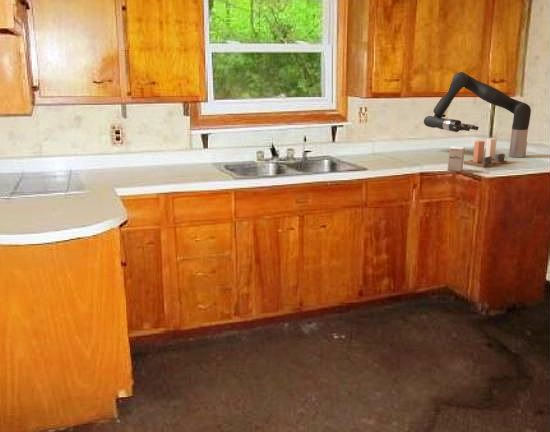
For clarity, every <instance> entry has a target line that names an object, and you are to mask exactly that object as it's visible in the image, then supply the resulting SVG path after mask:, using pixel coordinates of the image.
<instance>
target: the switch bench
mask: <svg viewBox="0 0 550 432" xmlns="http://www.w3.org/2000/svg"><path fill="white" fill-rule="evenodd" d="M505 157H506V155H505V153H497V154H496V153H495V159H492V157H485V156H483V162H478V163H476V162H473V159H470V160H465V161H463V165H467V166H474V167H479V168H488V167H495V166H500V165H506V164H508V162H509V160H506V159H505Z"/></svg>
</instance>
